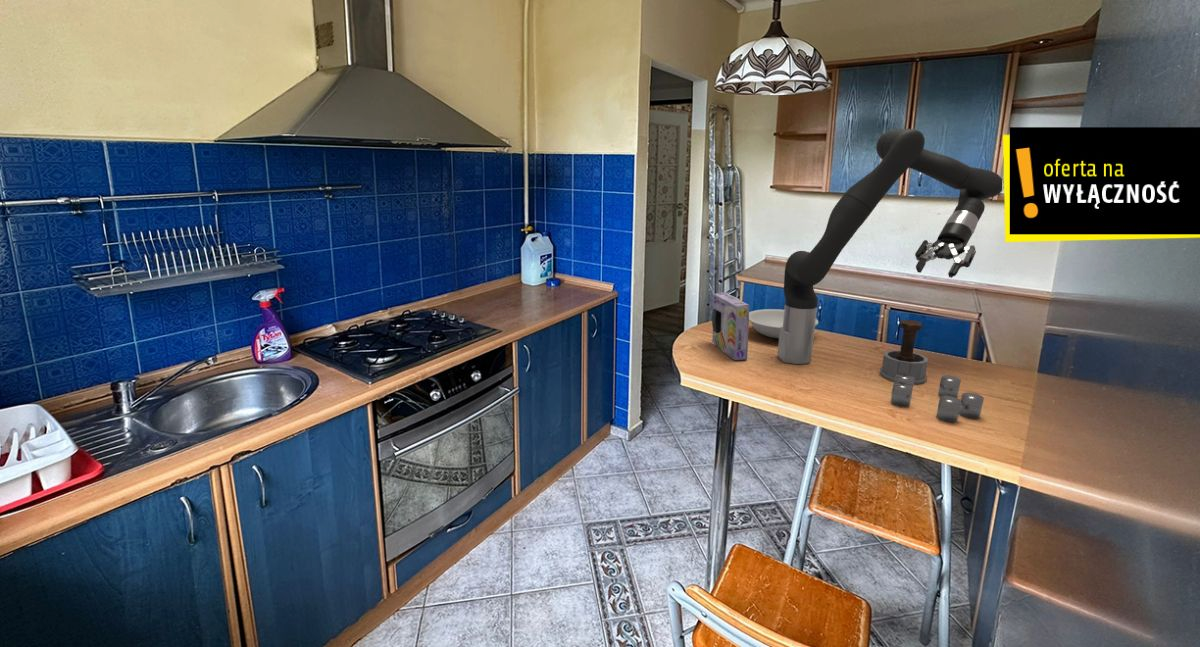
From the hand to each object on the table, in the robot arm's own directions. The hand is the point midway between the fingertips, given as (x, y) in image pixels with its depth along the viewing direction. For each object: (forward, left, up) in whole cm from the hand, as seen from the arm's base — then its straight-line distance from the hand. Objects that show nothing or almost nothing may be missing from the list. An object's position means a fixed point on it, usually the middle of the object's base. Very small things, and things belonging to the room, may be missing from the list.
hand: (933, 273), depth 162 cm
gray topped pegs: (-12, -27, -28) cm, 41 cm away
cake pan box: (-54, +15, -29) cm, 62 cm away
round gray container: (-9, -7, -28) cm, 31 cm away
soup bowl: (-32, +31, -29) cm, 53 cm away
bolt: (-8, -7, -28) cm, 30 cm away
